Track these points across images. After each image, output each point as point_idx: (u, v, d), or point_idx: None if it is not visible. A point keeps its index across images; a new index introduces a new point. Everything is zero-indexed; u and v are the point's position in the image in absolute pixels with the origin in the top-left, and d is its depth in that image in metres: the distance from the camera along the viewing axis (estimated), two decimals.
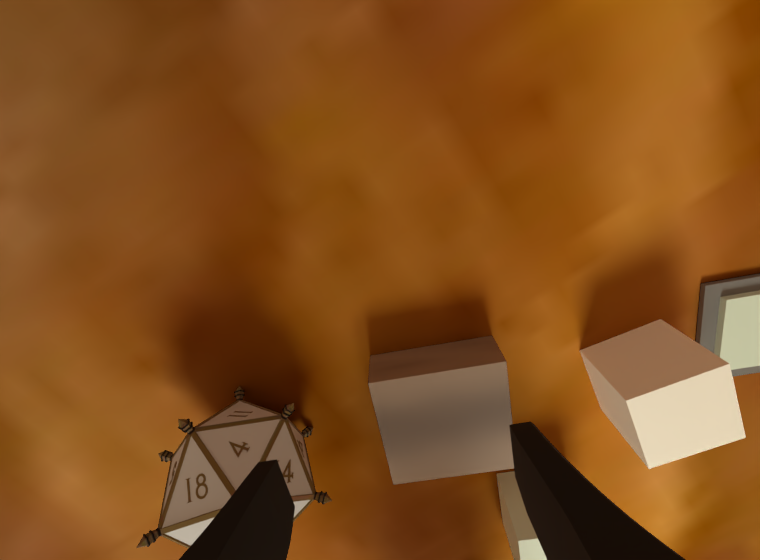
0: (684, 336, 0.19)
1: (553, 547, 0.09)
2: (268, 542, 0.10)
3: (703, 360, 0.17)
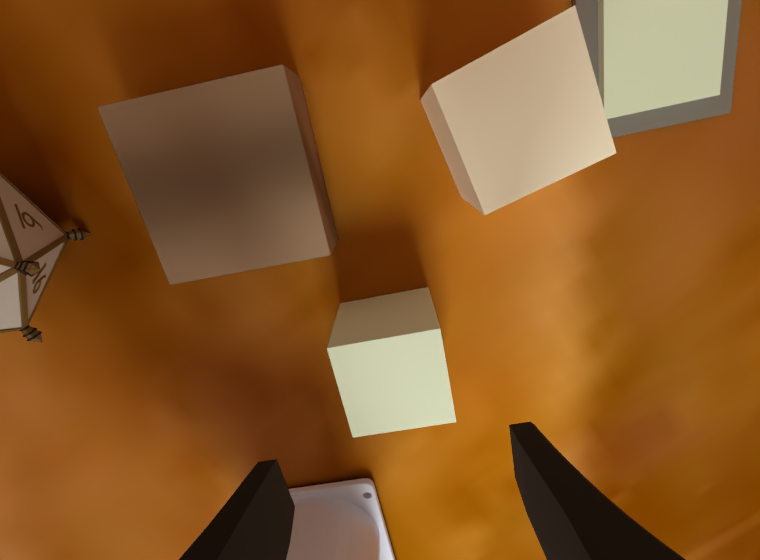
0: None
1: (553, 547, 0.09)
2: (268, 542, 0.10)
3: None
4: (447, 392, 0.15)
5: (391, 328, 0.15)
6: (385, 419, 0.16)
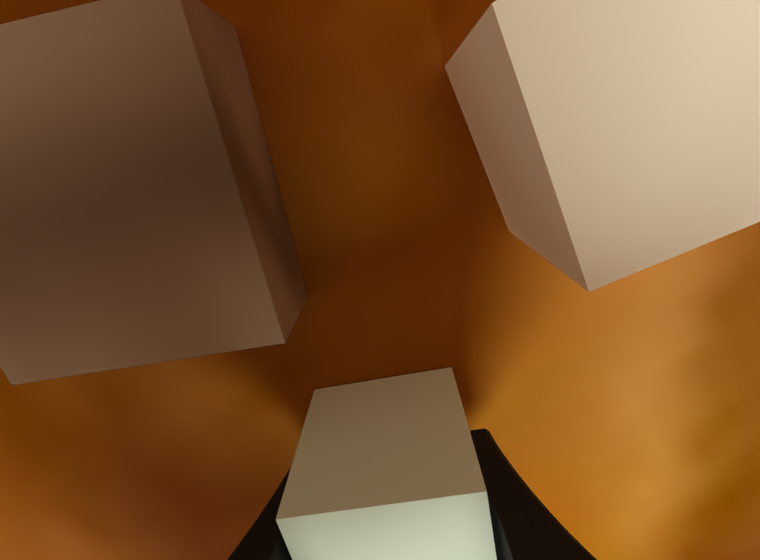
0: None
1: (498, 554, 0.09)
2: None
3: None
4: None
5: (393, 475, 0.08)
6: None
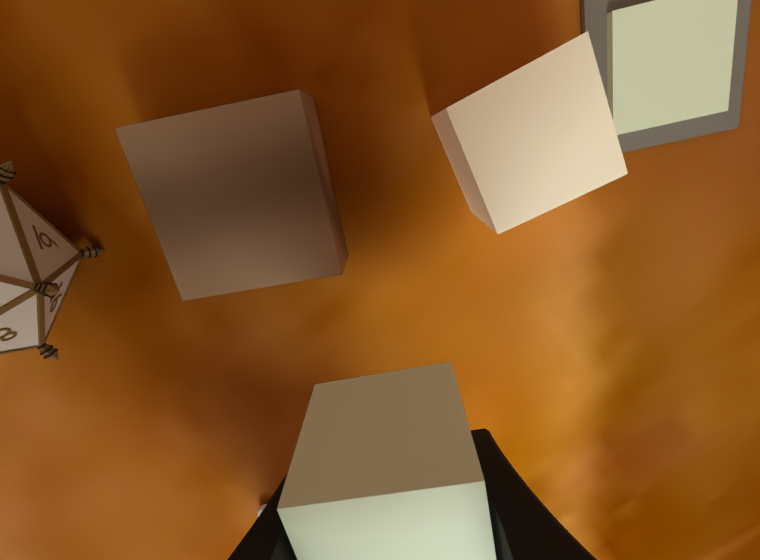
0: None
1: (498, 553, 0.09)
2: None
3: None
4: None
5: (393, 466, 0.09)
6: None
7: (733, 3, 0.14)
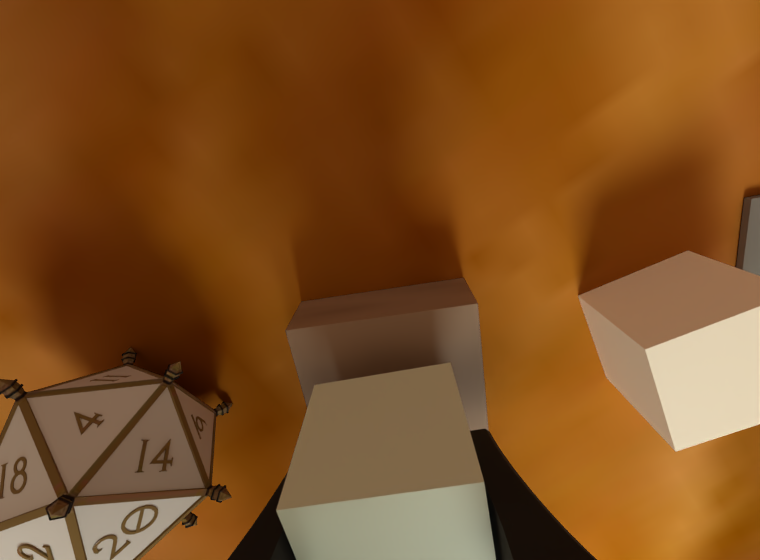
0: (724, 265, 0.13)
1: (498, 553, 0.09)
2: None
3: (758, 290, 0.12)
4: None
5: (393, 467, 0.09)
6: None
7: None
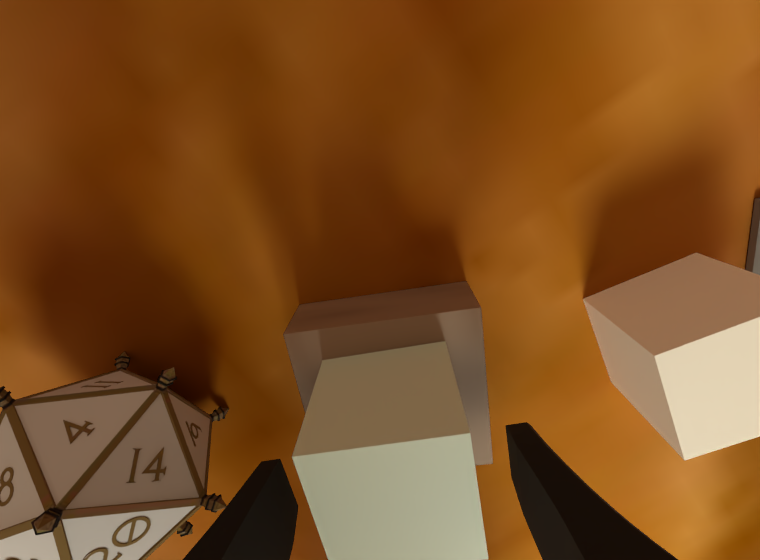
0: (735, 268, 0.13)
1: (548, 547, 0.09)
2: (272, 542, 0.10)
3: None
4: (476, 520, 0.10)
5: (392, 423, 0.10)
6: (381, 553, 0.11)
7: None
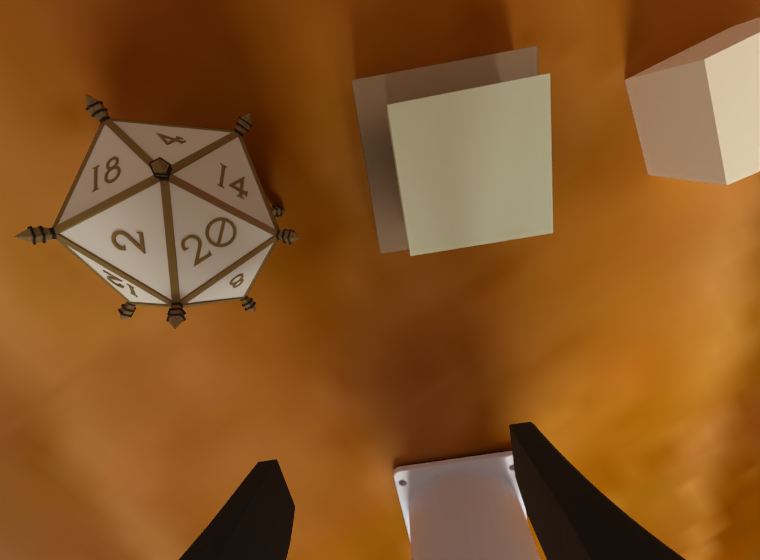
0: None
1: (553, 547, 0.09)
2: (268, 542, 0.10)
3: None
4: (546, 184, 0.11)
5: None
6: (456, 227, 0.12)
7: None
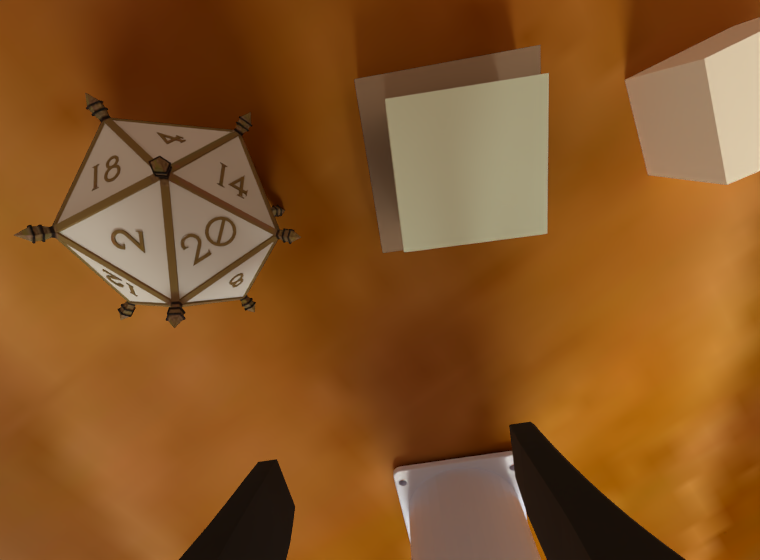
0: None
1: (553, 547, 0.09)
2: (268, 542, 0.10)
3: None
4: (542, 184, 0.11)
5: None
6: (451, 225, 0.12)
7: None
